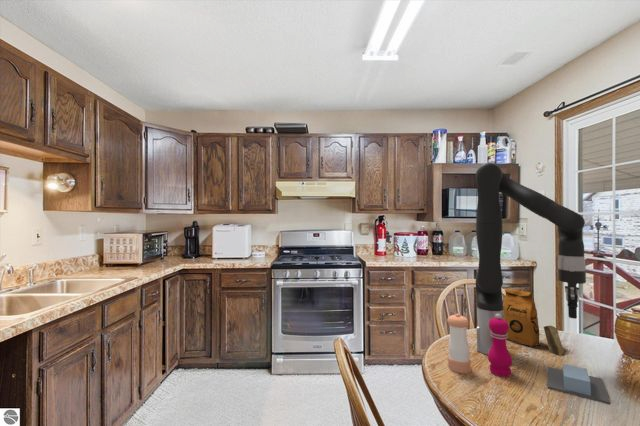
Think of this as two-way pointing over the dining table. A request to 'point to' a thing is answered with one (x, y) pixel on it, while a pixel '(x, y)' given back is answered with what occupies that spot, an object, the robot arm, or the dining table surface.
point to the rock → (553, 340)
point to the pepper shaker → (458, 344)
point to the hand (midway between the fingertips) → (572, 317)
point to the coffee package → (521, 317)
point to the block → (576, 379)
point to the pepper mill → (499, 348)
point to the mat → (558, 384)
